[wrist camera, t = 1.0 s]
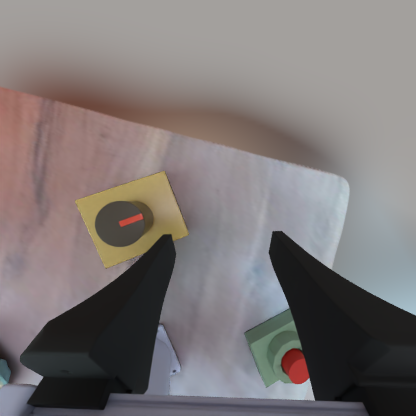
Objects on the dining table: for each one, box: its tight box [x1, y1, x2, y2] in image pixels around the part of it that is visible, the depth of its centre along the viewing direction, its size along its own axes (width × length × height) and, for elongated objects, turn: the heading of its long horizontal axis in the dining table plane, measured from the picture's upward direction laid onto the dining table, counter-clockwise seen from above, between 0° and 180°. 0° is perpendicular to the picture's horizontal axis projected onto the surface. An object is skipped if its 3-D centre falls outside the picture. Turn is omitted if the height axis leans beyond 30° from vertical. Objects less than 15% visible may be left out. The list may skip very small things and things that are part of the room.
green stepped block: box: [245, 309, 304, 388], centre depth 25 cm, size 10×8×4 cm
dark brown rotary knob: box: [95, 201, 153, 247], centre depth 17 cm, size 4×4×5 cm
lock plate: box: [75, 171, 189, 268], centre depth 21 cm, size 11×9×3 cm
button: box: [281, 348, 309, 384], centre depth 23 cm, size 4×4×2 cm
